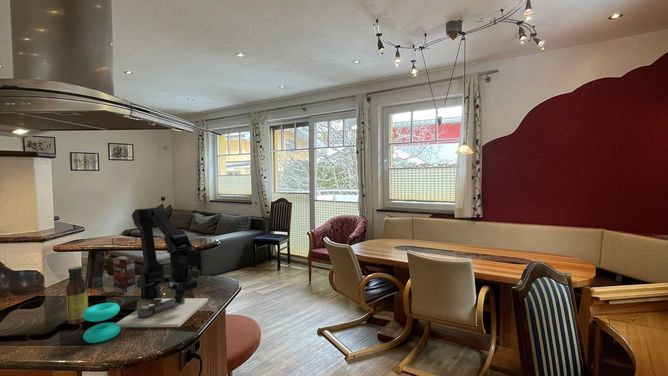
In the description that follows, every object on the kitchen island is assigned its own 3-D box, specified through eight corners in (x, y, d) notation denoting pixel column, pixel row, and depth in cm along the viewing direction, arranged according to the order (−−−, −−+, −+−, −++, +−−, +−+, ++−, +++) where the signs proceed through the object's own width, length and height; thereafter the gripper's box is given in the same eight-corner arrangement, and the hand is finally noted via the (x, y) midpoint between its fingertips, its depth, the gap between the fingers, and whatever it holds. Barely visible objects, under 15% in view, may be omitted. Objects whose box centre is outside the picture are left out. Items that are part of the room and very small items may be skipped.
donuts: (80, 307, 108) (116, 299, 115) (81, 337, 108) (116, 327, 115) (85, 315, 101) (123, 306, 108) (86, 347, 101) (123, 336, 108)
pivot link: (142, 319, 119) (142, 309, 118) (135, 316, 121) (134, 306, 121) (186, 303, 134) (186, 294, 133) (178, 301, 136) (178, 292, 136)
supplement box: (113, 292, 152) (112, 258, 151) (123, 289, 156) (122, 255, 156) (126, 294, 149) (125, 259, 148) (136, 290, 153) (135, 257, 153)
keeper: (136, 312, 126) (136, 301, 125) (141, 309, 129) (141, 299, 128) (157, 312, 125) (157, 301, 125) (161, 309, 128) (161, 299, 128)
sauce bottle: (93, 319, 122) (91, 266, 122) (75, 326, 116) (73, 270, 116) (80, 316, 125) (79, 264, 124) (62, 323, 119) (60, 269, 118)
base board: (114, 327, 115) (114, 324, 115) (154, 300, 140) (154, 298, 140) (179, 327, 115) (178, 324, 115) (208, 300, 140) (207, 298, 140)
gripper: (209, 262, 132) (211, 301, 132) (185, 258, 143) (187, 293, 143) (182, 269, 123) (184, 310, 123) (159, 263, 134) (160, 301, 134)
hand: (179, 303), depth 131 cm, fingers closed
